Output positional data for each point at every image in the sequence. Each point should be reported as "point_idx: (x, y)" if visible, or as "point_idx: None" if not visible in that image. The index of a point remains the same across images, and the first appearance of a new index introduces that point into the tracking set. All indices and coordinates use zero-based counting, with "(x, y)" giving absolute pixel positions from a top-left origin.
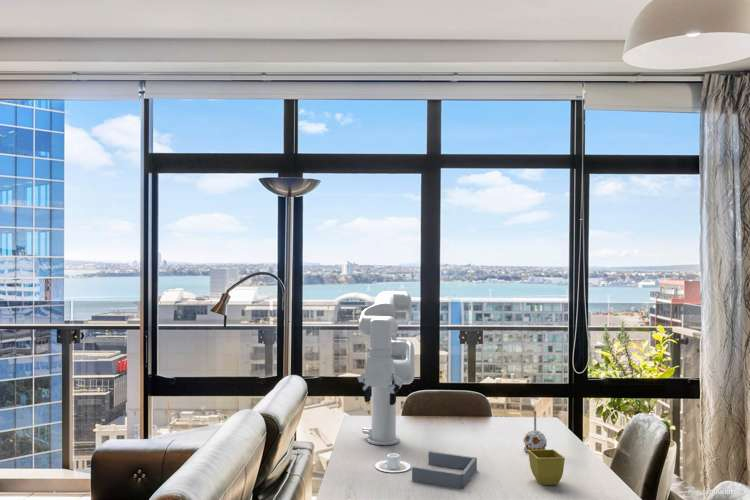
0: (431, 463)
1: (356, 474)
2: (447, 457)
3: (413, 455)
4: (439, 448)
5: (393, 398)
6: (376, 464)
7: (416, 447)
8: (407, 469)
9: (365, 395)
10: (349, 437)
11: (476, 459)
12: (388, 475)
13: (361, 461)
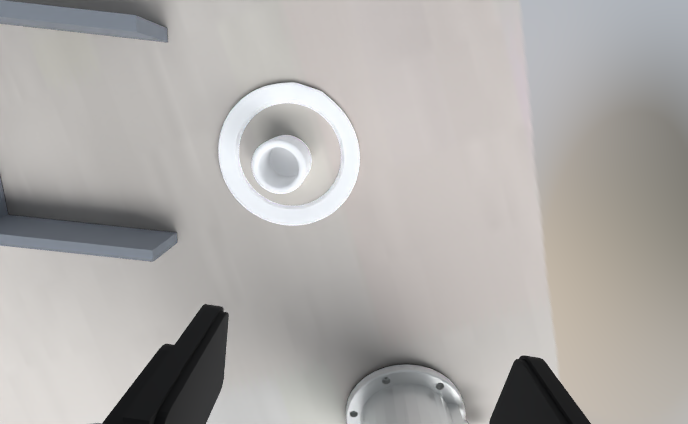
0: (163, 232)
1: (405, 18)
2: (77, 236)
3: (257, 301)
4: None
5: (150, 374)
6: (355, 153)
7: (273, 379)
8: (221, 135)
9: (578, 419)
10: None
11: None
12: (275, 54)
13: (426, 180)
